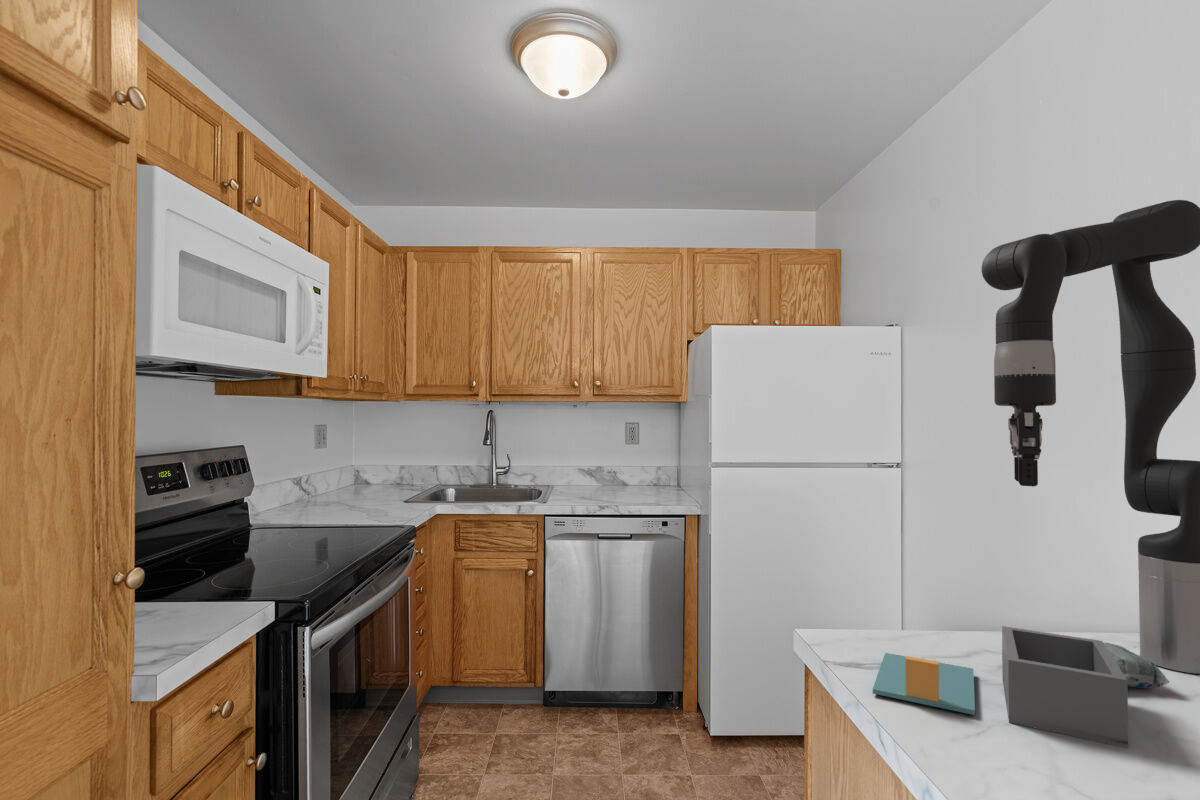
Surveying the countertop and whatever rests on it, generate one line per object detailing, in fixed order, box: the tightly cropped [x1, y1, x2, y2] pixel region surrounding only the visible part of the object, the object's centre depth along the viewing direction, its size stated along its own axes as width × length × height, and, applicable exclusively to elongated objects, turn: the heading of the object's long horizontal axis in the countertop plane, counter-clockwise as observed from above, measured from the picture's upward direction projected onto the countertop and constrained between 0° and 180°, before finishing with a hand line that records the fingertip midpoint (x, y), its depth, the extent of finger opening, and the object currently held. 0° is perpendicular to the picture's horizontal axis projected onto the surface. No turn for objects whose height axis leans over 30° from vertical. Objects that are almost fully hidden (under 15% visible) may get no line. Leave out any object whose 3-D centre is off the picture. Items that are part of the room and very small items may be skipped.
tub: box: [1001, 625, 1129, 749], centre depth 85 cm, size 16×12×8 cm
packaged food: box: [1103, 642, 1170, 689], centre depth 96 cm, size 9×12×5 cm
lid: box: [872, 652, 976, 716], centre depth 92 cm, size 16×12×6 cm
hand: (1025, 483), depth 92 cm, fingers open, 8 cm apart
